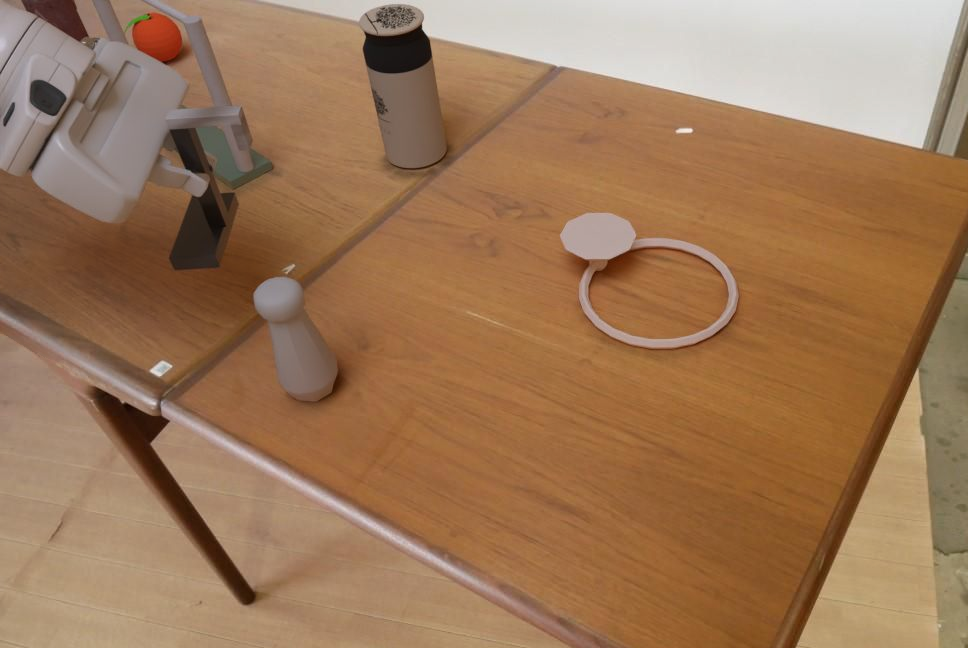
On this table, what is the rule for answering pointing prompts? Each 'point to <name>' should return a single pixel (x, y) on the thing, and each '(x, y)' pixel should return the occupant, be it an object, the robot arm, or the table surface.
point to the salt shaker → (295, 341)
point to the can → (59, 15)
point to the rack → (221, 144)
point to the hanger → (213, 210)
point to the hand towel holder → (615, 236)
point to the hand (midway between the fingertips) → (209, 178)
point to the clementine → (156, 36)
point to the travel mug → (403, 85)
